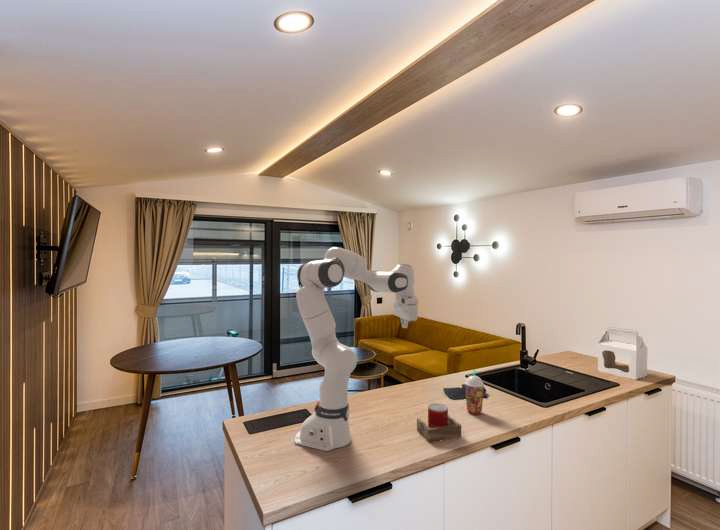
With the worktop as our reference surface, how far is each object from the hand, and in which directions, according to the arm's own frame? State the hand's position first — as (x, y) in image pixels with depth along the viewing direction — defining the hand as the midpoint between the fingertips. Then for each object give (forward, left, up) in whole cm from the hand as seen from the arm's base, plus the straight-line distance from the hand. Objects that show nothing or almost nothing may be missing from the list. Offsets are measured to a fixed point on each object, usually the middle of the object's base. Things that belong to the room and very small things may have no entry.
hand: (404, 327), depth 181 cm
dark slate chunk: (+29, +28, -40) cm, 57 cm away
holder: (+16, -21, -39) cm, 47 cm away
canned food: (+16, -21, -39) cm, 47 cm away
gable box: (+125, +86, -39) cm, 156 cm away
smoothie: (+32, +4, -39) cm, 51 cm away
